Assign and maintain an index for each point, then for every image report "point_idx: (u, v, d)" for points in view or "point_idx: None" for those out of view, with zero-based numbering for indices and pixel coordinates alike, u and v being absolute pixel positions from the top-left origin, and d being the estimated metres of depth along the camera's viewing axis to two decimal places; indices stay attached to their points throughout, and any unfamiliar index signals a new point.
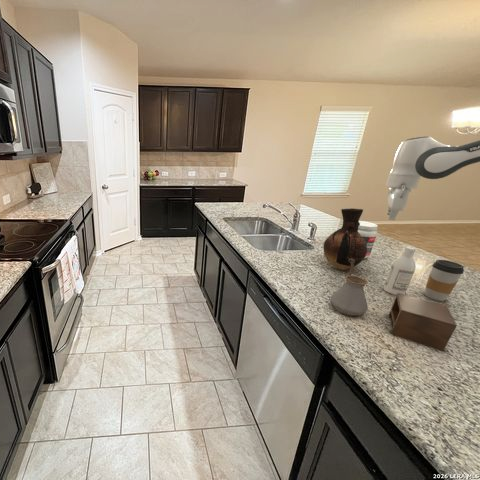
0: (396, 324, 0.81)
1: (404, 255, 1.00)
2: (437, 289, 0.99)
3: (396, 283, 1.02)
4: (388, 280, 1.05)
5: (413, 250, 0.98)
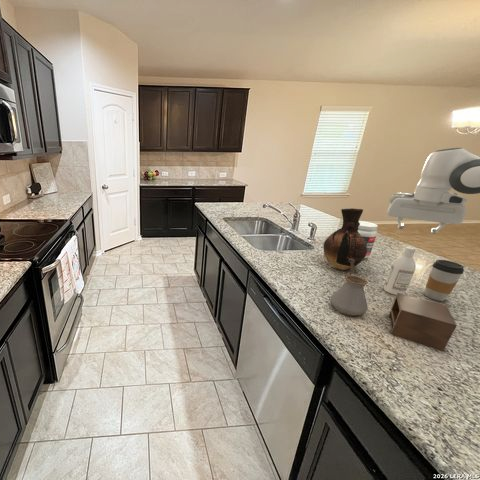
0: (396, 324, 0.81)
1: (404, 255, 1.00)
2: (437, 289, 0.99)
3: (396, 283, 1.02)
4: (388, 280, 1.05)
5: (413, 250, 0.98)
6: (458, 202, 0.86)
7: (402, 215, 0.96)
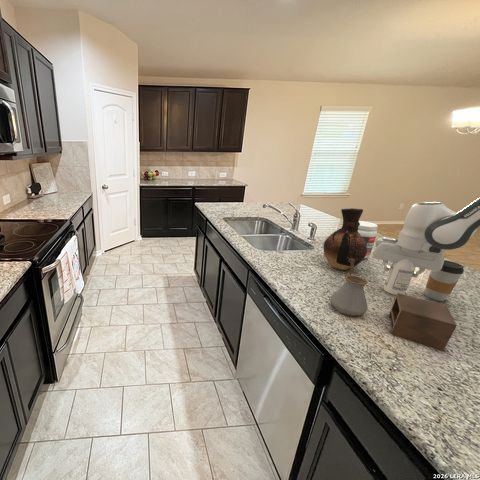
0: (396, 324, 0.81)
1: None
2: (437, 289, 0.99)
3: (396, 283, 1.02)
4: (388, 280, 1.05)
5: None
6: (437, 252, 0.93)
7: (386, 258, 1.03)
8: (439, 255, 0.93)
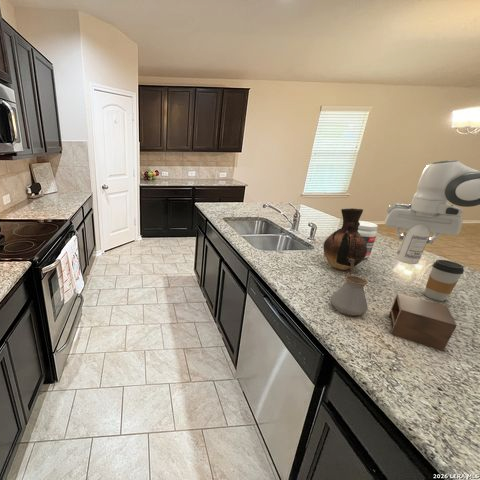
0: (396, 324, 0.81)
1: None
2: (437, 289, 0.99)
3: (409, 251, 0.97)
4: (400, 248, 1.00)
5: None
6: (454, 213, 0.87)
7: (400, 225, 0.98)
8: (457, 217, 0.88)
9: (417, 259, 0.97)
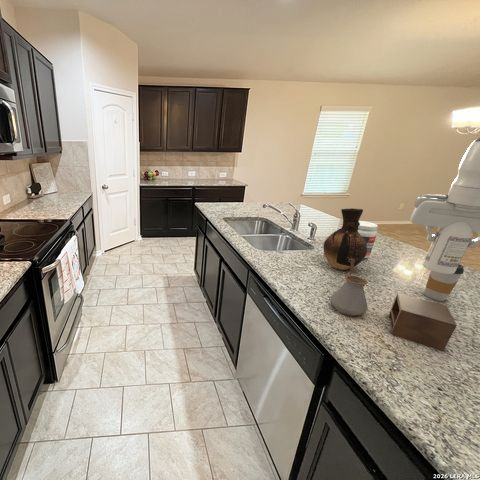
0: (396, 324, 0.81)
1: None
2: (437, 289, 0.99)
3: (443, 257, 0.73)
4: (431, 253, 0.76)
5: None
6: None
7: (431, 223, 0.74)
8: None
9: (454, 268, 0.73)
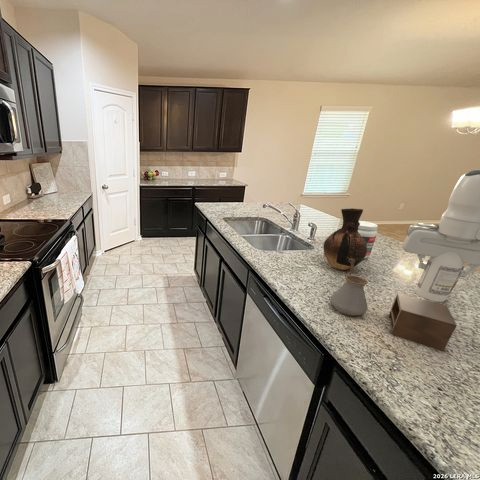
0: (396, 324, 0.81)
1: None
2: None
3: (434, 285, 0.75)
4: (423, 281, 0.77)
5: None
6: None
7: (423, 252, 0.75)
8: None
9: (445, 296, 0.75)
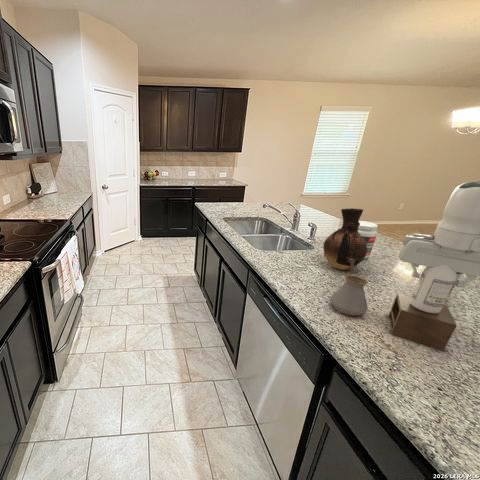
0: (396, 324, 0.81)
1: None
2: None
3: (429, 297, 0.76)
4: (417, 292, 0.79)
5: None
6: None
7: (419, 262, 0.77)
8: None
9: (439, 308, 0.76)
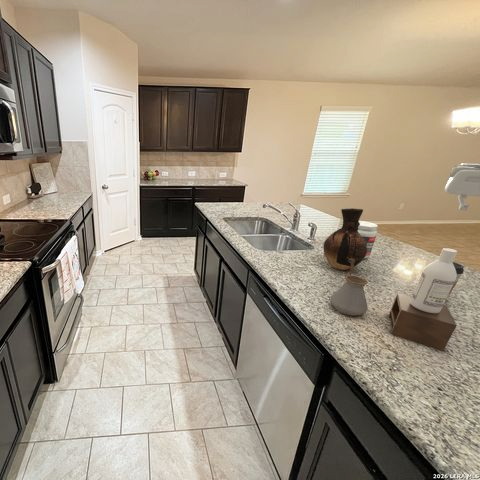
0: (396, 324, 0.81)
1: (441, 260, 0.74)
2: None
3: (428, 297, 0.76)
4: (417, 292, 0.79)
5: (454, 253, 0.72)
6: None
7: (467, 192, 0.76)
8: None
9: (439, 308, 0.76)
